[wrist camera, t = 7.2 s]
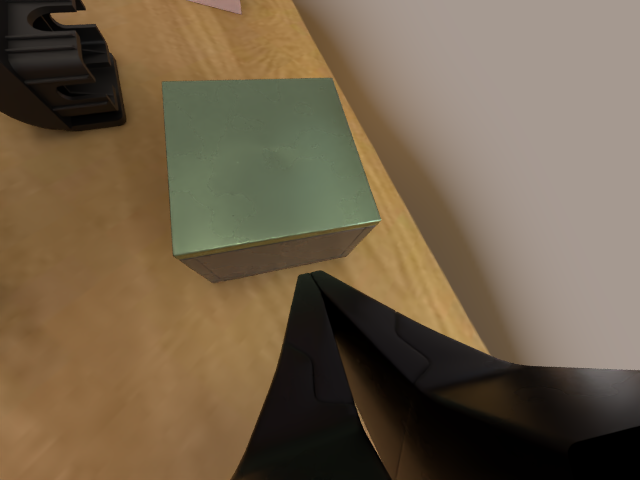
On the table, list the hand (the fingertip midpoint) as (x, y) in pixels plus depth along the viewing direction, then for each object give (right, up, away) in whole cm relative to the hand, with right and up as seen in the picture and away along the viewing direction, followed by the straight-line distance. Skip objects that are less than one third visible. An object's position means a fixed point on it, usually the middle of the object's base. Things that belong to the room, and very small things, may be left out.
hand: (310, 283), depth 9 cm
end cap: (-23, +15, +15) cm, 31 cm away
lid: (-3, +7, +7) cm, 10 cm away
